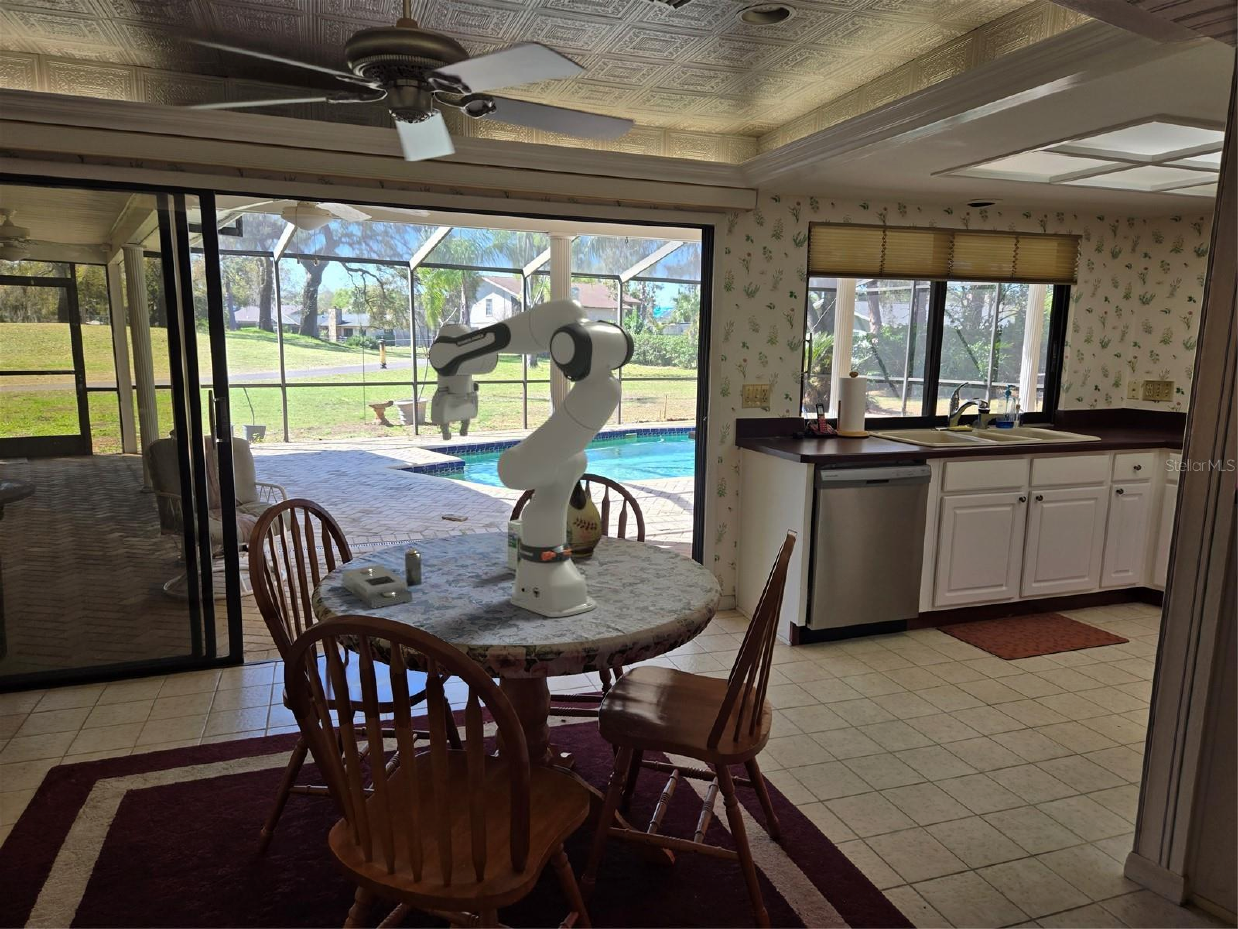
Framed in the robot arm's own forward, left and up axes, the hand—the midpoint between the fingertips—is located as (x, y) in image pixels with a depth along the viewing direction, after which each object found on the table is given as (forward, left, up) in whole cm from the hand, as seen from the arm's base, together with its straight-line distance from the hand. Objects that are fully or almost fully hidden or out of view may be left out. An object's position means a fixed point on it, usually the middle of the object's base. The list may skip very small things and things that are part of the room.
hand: (455, 437), depth 207 cm
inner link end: (-8, +24, -38) cm, 46 cm away
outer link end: (-2, +24, -38) cm, 45 cm away
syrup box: (-9, -15, -38) cm, 42 cm away
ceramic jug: (-2, -38, -38) cm, 54 cm away
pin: (-1, +13, -38) cm, 40 cm away
